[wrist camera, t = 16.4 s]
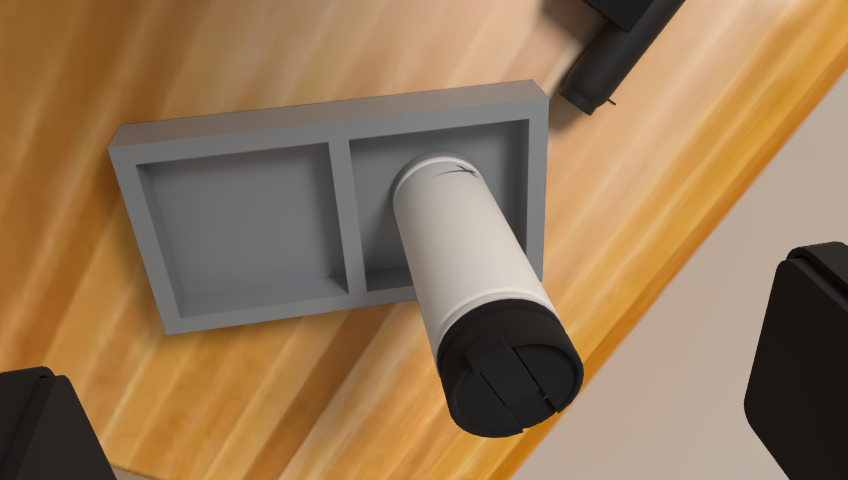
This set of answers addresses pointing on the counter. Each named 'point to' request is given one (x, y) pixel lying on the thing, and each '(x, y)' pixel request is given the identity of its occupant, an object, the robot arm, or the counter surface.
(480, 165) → the grey compartment tray
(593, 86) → the door handle
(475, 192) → the travel mug
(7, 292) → the counter surface
